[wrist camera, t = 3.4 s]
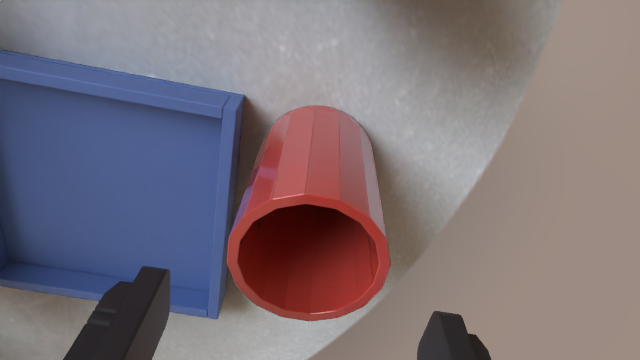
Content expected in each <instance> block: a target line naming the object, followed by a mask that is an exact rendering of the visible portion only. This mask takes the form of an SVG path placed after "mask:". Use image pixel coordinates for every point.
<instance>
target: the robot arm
mask: <svg viewBox="0 0 640 360" xmlns="http://www.w3.org/2000/svg"><path fill="white" fill-rule="evenodd" d="M169 310H170V270H169V269H163V268H156V267H150V266H143V267H142V268H141V269H140V271H139V273H138V274H137V276H136V278H135V280H134V281H133V283H131V282H124V281H120V282H118V283H117V284H116V285H114V286H113V287H112V288H110V289H109V290H108V291H107V292H105V293H104V295H103V296H102V298H101V300H100V301H99V303H98V305H97V306H96V308H95V311H93V313H92V314H91V316H90V317H89V319H88V321H87V324H85V325H84V327H83V329H82V330H81V332H80V333H79V335H78V337H77V338H76V340H75V341H74V343H73V345H72V346H71V348H70V349H69V351H68V353H67V354H66V356H65V357H64V359H63V360H152V357H153V355H154V353H155V350H156V348H157V345H158V343H159V341H160V338H161V336H162V333H163V331H164V329H165V326H166V323H167V320H168V316H169ZM417 360H491V358H490V355H489V352H488V350H487V349H486V347H485V346H484V345H483V343H482V342H481V341H480V340H479V338H478V337H477V336H476V335H473V334H468V333H467V330H466V327H465V324H464V321H463V318H462V317H461V315H459V314H453V313H446V312H440V311H435V312H433V314H432V316H431V318H430V320H429V322H428V325H427V327H426V329H425V331H424V334H423V336H422V338H421V340H420V343H419V346H418V352H417Z"/></svg>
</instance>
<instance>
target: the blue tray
mask: <svg viewBox="0 0 640 360" xmlns="http://www.w3.org/2000/svg"><path fill="white" fill-rule="evenodd" d="M244 99H245V95H241V94H236V93H230V92H225V91H220V90H214V89H209V88H203V87H198V86H193V85H187V84H182V83H177V82H171V81H166V80H161V79H155V78H150V77H145V76H139V75H134V74H129V73H123V72H118V71H113V70H107V69H102V68H96V67H91V66H86V65H80V64H75V63H70V62H64V61H59V60H54V59H48V58H43V57H38V56H32V55H27V54H22V53H16V52H11V51H6V50H0V286H3V287H10V288H16V289H23V290H29V291H36V292H42V293H49V294H55V295H62V296H68V297H75V298H81V299H88V300H94V301H100V300H101V298H102V296H103V295H104V293H105V292H107V291H108V290H109V289H110V288H112V287H113V286H114V285H116V284H117V283H118V282H120V281H124V282H131V283H133V281H134V280H135V278H136V276H137V274H138V273H139V271H140V269H141V268H142V267H143V266H150V267H156V268H163V269H169V270H170V310H169V312H173V313H179V314H186V315H192V316H199V317H205V318H207V317H208V318H211V319H218V316H219V313H220V309H221V306H222V303H223V300H224V296H225V287H226V277H227V267H228V265H227V261H226V259H227V249H228V239H229V235H230V233H231V228H232V218H233V208H234V198H235V188H236V178H237V168H238V158H239V148H240V139H241V129H242V119H243V109H244Z"/></svg>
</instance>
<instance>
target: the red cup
mask: <svg viewBox="0 0 640 360" xmlns="http://www.w3.org/2000/svg"><path fill="white" fill-rule="evenodd" d="M226 261H227V265H228V268H229V270H230V272H231V275H232V277H233V280H234V282H235V285H236V286H237V287H238V288H239V289H240V290H241V291H242V292H243V293H244V294H245V295H246V296H247V297H248V298H249V299H250V300H251V301H252V302H253V303H254V304H256V305H257V306H259V307H261V308H263V309H265V310H268V311H270V312H272V313H274V314H276V315H278V316H282V317H285V318H292V319H298V320H305V321H317V320H325V319H333V318H338V317H342V316H344V315H346V314H348V313H351V312H353V311H355V310H357V309H359V308H362V307H363V306H365V305H366V304H367V303H368V302H369V301H370V300H371V299H372V298H373V297H374V296H375V295H376V294H377V293H378V292H379V291H380V290H381V289H382V287H383V285H384V283H385V280H386V277H387V274H388V271H389V268H390V265H391V260H390V254H389V248H388V242H387V236H386V230H385V224H384V218H383V212H382V206H381V199H380V193H379V187H378V181H377V175H376V169H375V163H374V157H373V151H372V145H371V142H370V140H369V137H368V135H367V134H366V132H365V130H364V129H363V128H362V126H361V125H360V124H359V123H358V122H357V121H356V120H355V119H354V118H352V117H351V116H349V115H348V114H346V113H344V112H342V111H340V110H337V109H335V108H331V107H326V106H306V107H301V108H297V109H295V110H292V111H290V112H288V113H286V114H284V115H283V116H282V117H280V118H279V119H278V120H277V121H276V122H275V123H274V124H273V125H272V126H271V127H270V129H269V130H268V132H267V134H266V136H265V138H264V140H263V141H262V144H261V147H260V149H259V152H258V155H257V158H256V161H255V164H254V167H253V170H252V172H251V175H250V178H249V181H248V184H247V187H246V190H245V192H244V195H243V198H242V201H241V204H240V207H239V210H238V213H237V215H236V218H235V221H234V224H233V227H232V230H231V233H230V235H229V239H228V249H227V259H226Z"/></svg>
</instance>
